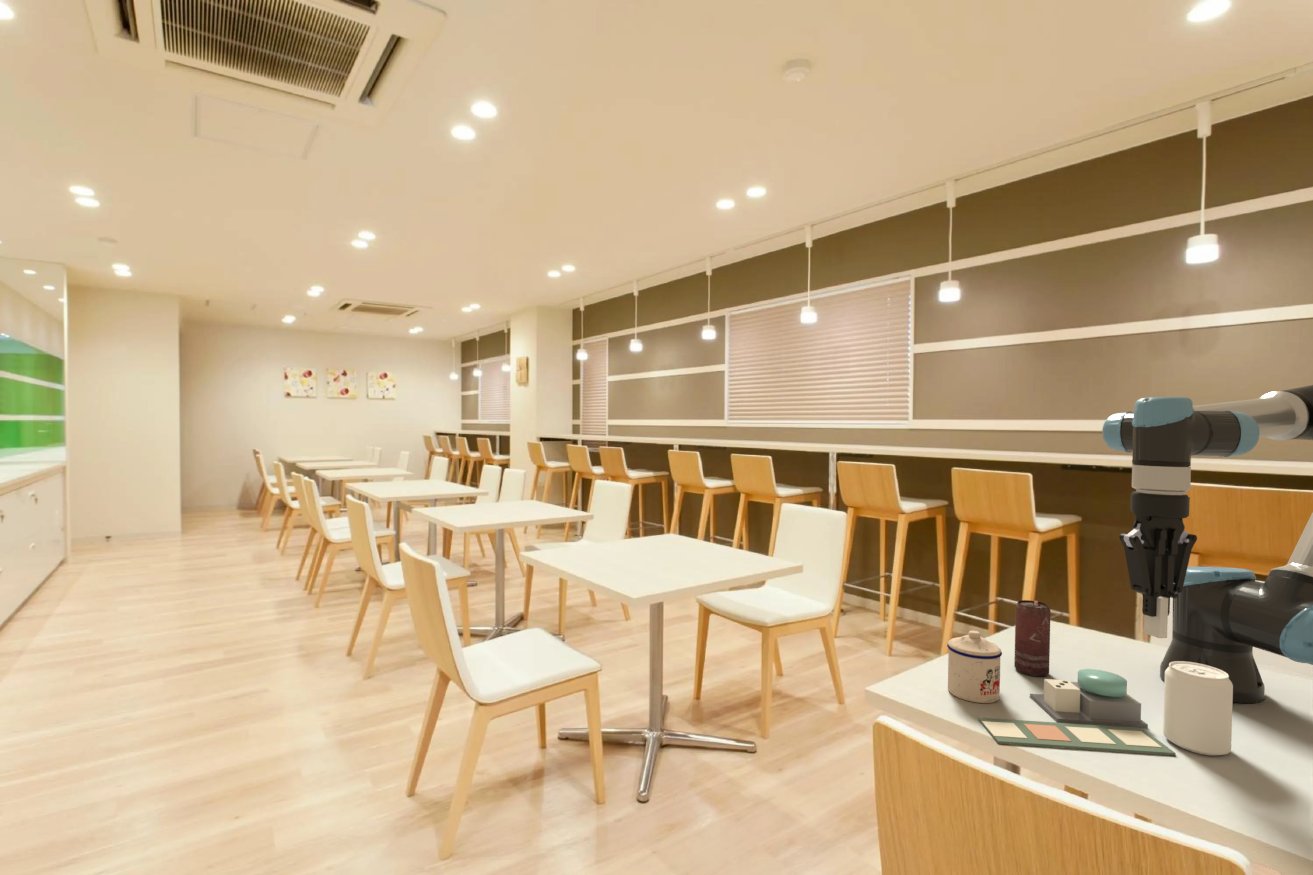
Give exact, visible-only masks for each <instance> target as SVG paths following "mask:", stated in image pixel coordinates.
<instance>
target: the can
mask: <svg viewBox="0 0 1313 875" xmlns="http://www.w3.org/2000/svg"><path fill="white" fill-rule="evenodd" d="M1051 613H1052V612H1051V609H1050V607H1049V605H1048V604H1047V603H1044V602H1041V601H1038V600H1027V599H1026V600H1025V599H1023V600H1022V599H1021V600H1018V601H1017V603H1016V604H1015V621H1014V622H1015V626H1014V629H1015V630H1014V668H1015V670H1016V671H1017V672H1019V673H1020V674H1023V675H1026V676H1029V677H1034V678H1044V677H1046V676H1048V675H1049V674H1050V655H1051V654H1050V652H1051V651H1050V650H1051V649H1050V648H1051V642H1050V641H1051Z"/></svg>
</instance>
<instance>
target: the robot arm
mask: <svg viewBox="0 0 1313 875" xmlns="http://www.w3.org/2000/svg"><path fill="white" fill-rule="evenodd" d="M1134 403H1135V404H1134V407H1133V408H1134V409H1133V411H1125V412H1115V413H1114V414H1111V415H1110V416H1108V417H1107V418H1106V420H1105V421H1104V423H1103V424H1102V429H1101V431H1102V433H1101V434H1102V439H1103V441H1104V443H1105V445H1106V446H1107V447H1108V448H1110V449H1111V450H1113V451H1117V452H1125V453H1127V454H1128V453H1130V454H1131V453H1132V460H1131V464H1132V465H1131V488H1132V489H1135V490H1133V491H1132V492H1131V493H1130V512H1131V513H1132V514H1133V515H1134V517H1135V518H1134V522H1133V524H1132V530H1131V531H1129V532H1128V533H1120V534H1119V540H1120V542H1121V544H1122V546H1123V548H1124V549H1123V550H1124V554H1125V559H1126V565H1127V566H1126V567H1127V571H1128V578H1129V583H1130V588H1131V590H1132V591H1134V592H1136V593H1138V594H1141V595H1142V611H1141V612H1142V614H1143V634H1146V635H1148V636H1150V637H1151V636H1152V637H1155V638H1157V639H1167V638H1168V621H1169V617H1168V616H1169V615H1170V613H1171V612H1170V609H1171V606H1170V605H1171V598H1172V637H1171V641H1170V644H1169V646H1168V648H1167V650H1166V652H1165V655H1164V657H1163V659H1162V661H1161V663H1160V666H1159V678H1160V679H1161V680H1162V681H1163V682H1165V670H1166V669H1167V668H1168V667H1169V663H1170V662H1174V661H1186V662H1194V663H1199V664H1204V665H1208V666H1211V667H1215V668H1217V669H1220V670H1222V671H1224V672H1226V673H1227V674H1228V675H1229V680H1230V681H1231V682H1232V684H1233V702H1232V703H1240V704H1253V703H1255V704H1256V703H1261V702H1263V700H1265V695H1266V694H1265V692H1266V691H1265V684H1264V681H1263V679H1262V675H1261V673H1260V671H1259V667H1258V666H1257V665H1258V664H1257V663H1256V660H1255V658H1254V653H1253V651H1254V650H1253V647H1254V648H1255V649H1256V648H1257V649H1259V650H1262V651H1265V652H1268V653H1271V654H1275V655H1276V656H1277V655H1278V656H1281V657H1284V658H1287V659H1288V660H1290V661H1293V662H1295V663H1301V664H1308V665H1311V666H1313V512H1312V513H1311V514H1310V517H1309V519H1308V521H1307V523H1306V525H1305V526H1304V529H1303V531H1302V533H1301V534H1300V537H1299V539H1298V541H1297V543H1296V545H1295V547H1294V550H1293V551H1292V554H1291V555H1290V558H1289V559H1288V561H1287V564H1285V565H1283V566H1278V567H1274V568H1271V569H1270V571H1269V573H1268V576H1266V579H1265V581H1264V582H1261V581H1256V580H1257V576H1256V575H1255V572H1254V571H1253V570H1250V569H1247V568H1239V567H1238V568H1237V567H1224V566H1223V567H1222V566H1189V562H1190V559H1191V554H1192V549H1194V545H1195V544H1196V542H1197V540H1198V537H1197V535H1196V534H1193V533H1192V534H1191V533H1189V532H1188V531H1186V530H1185V529H1186V527H1185V524H1184V520H1183V519H1186V518H1188V517H1189V516H1190V505H1191V504H1190V500H1191V498H1190V496H1189V495H1188V494H1186V493H1187V492H1190V491H1191V488H1192V487H1191V485H1192V484H1191V480H1192V479H1191V476H1192V473H1191V472H1192V467H1191V465H1192V464H1191V462H1192V456H1199V457H1202V456H1203V457H1223V458H1228V457H1229V458H1230V457H1233V456H1235V457H1236V456H1242V455H1245V454H1247V453H1249V452H1251V451H1252V450H1253V449H1254V448H1255V447H1256V445H1257V444H1258V442H1259V439H1263V438H1267V439H1270V440H1273V441H1288V440H1289V441H1290V440H1302V441H1303V440H1306V441H1313V384H1311V385H1304V386H1300V387H1296V388H1290V389H1288V388H1287V389H1284V390H1277V391H1270V392H1268V393H1264V394H1263V395H1261V396H1260V397H1258V398H1253V399H1252V398H1251V399H1245V400H1243V399H1242V400H1235V401H1234V400H1233V401H1227V402H1226V401H1225V402H1216V403H1208V404H1206V403H1205V404H1199V405H1194V404H1193V400H1192V399H1191V398H1189V397H1187V396H1186V397H1183V396H1154V397H1152V396H1151V397H1149V396H1148V397H1141V398H1139V399H1137V400H1136V402H1134Z"/></svg>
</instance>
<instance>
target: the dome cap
mask: <svg viewBox="0 0 1313 875" xmlns="http://www.w3.org/2000/svg"><path fill="white" fill-rule="evenodd" d="M1077 682H1078V685H1079V686H1080V687H1081V688H1083V689H1085V690H1087V691H1089V692H1092V693H1094V694H1096V695H1097V696H1111V697H1122V696H1125V695H1126V694H1128V681H1127V679H1126V678H1124V677H1123V676H1121V675H1119V674H1116V673H1114V672H1110V671H1106V670H1102V669H1095V668H1083V669H1079V670H1078V671H1077Z"/></svg>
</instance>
